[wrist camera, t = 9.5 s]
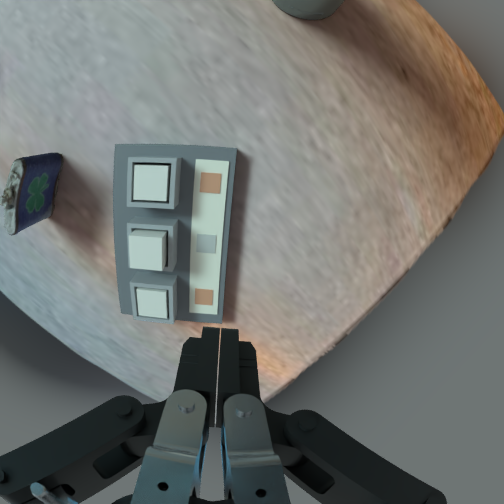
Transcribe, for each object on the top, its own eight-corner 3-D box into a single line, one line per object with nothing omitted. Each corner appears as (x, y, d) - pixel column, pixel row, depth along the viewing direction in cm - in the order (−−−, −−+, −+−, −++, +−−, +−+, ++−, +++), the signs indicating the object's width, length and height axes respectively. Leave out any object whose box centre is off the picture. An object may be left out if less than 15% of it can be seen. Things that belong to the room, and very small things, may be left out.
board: (121, 144, 30) (104, 144, 25) (236, 148, 31) (237, 148, 27) (125, 305, 37) (114, 325, 33) (222, 315, 39) (221, 337, 34)
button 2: (143, 163, 29) (134, 165, 26) (174, 164, 29) (168, 166, 27) (141, 194, 30) (133, 199, 27) (172, 196, 31) (166, 201, 28)
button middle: (137, 227, 30) (128, 235, 27) (168, 229, 30) (161, 237, 27) (138, 257, 31) (130, 267, 28) (167, 260, 31) (162, 270, 29)
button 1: (143, 278, 34) (136, 289, 31) (170, 280, 34) (165, 292, 31) (144, 302, 35) (138, 315, 32) (171, 305, 35) (166, 318, 33)
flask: (52, 219, 32) (5, 244, 22) (38, 212, 32) (-10, 235, 22) (66, 154, 29) (15, 161, 19) (51, 149, 29) (-1, 155, 19)
